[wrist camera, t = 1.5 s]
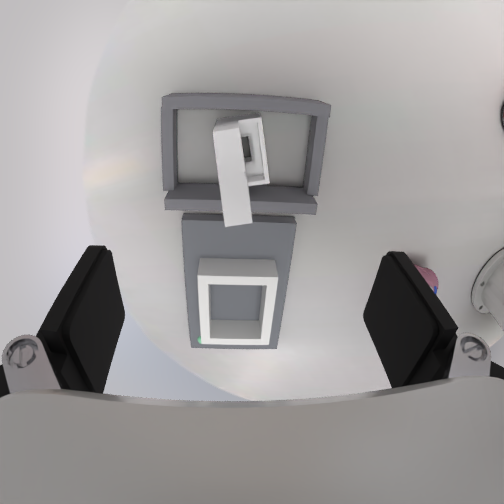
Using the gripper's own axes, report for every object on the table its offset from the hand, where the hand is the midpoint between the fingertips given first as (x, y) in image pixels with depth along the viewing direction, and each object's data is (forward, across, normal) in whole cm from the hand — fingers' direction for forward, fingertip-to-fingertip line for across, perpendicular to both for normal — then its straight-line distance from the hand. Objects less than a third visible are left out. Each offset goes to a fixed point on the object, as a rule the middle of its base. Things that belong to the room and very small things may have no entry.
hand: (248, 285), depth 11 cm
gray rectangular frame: (+20, 0, 0) cm, 20 cm away
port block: (+20, 0, +16) cm, 26 cm away
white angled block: (+21, 0, 0) cm, 21 cm away
